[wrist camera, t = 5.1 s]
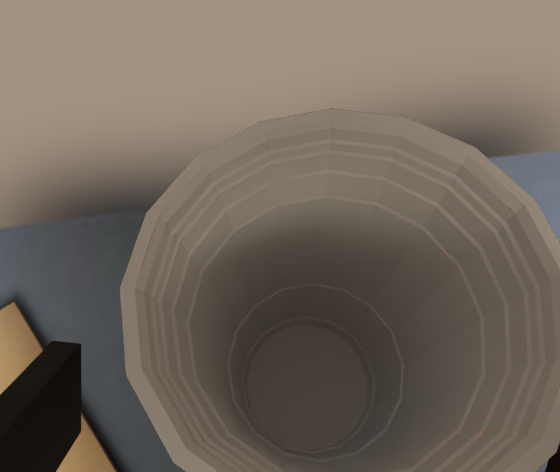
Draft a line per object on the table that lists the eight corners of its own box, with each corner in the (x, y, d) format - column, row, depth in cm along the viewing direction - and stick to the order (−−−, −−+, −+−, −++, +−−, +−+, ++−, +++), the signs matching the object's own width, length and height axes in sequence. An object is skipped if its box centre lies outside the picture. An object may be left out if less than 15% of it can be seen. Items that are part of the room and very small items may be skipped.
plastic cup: (186, 272, 24) (138, 93, 14) (404, 273, 25) (518, 102, 14) (167, 530, 19) (66, 563, 8) (443, 523, 20) (667, 543, 9)
